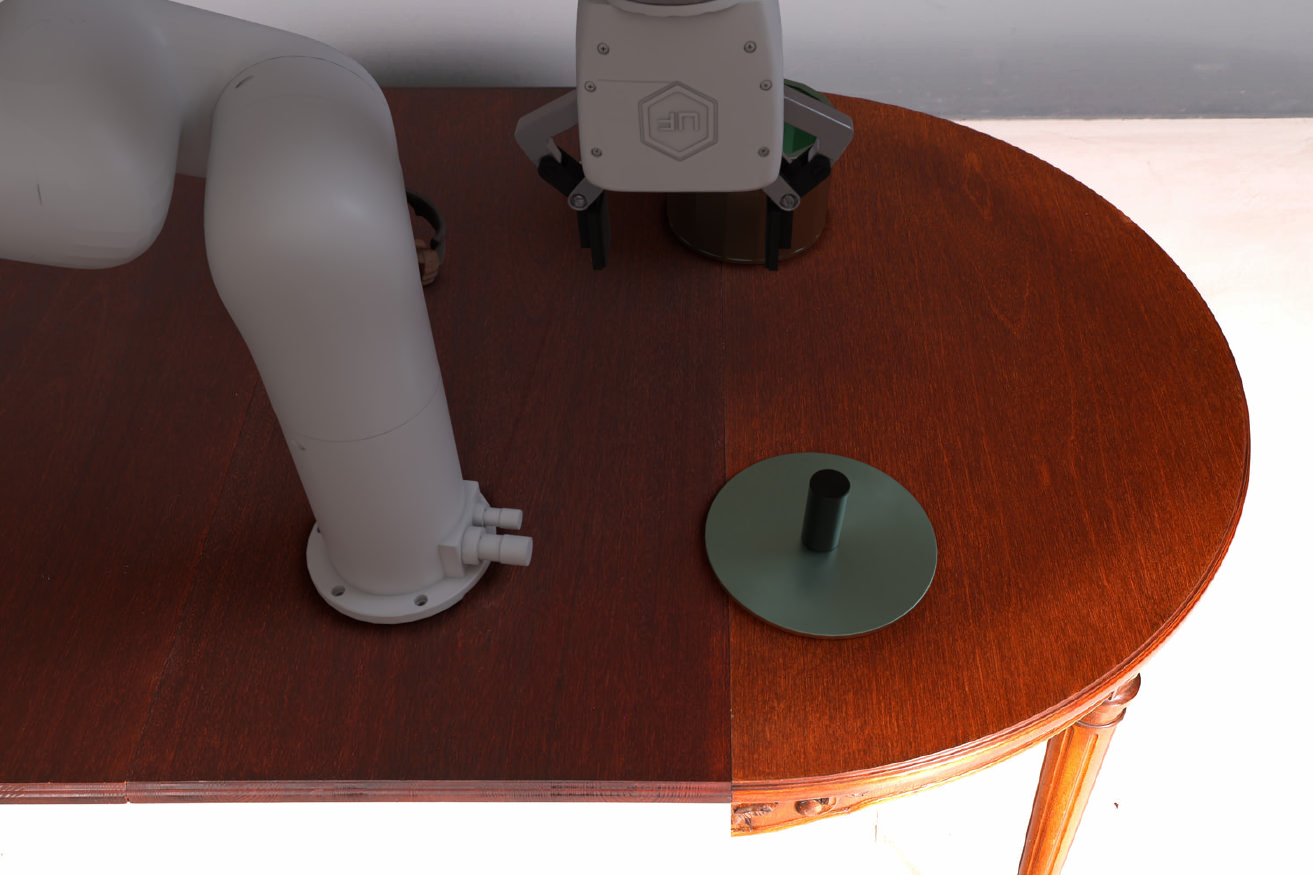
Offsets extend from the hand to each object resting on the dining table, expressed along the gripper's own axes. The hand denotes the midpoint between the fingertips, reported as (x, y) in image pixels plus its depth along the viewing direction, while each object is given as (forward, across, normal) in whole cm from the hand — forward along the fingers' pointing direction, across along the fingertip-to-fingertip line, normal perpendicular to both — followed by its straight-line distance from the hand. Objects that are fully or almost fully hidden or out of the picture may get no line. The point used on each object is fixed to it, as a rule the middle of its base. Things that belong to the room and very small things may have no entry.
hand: (686, 255), depth 59 cm
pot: (+22, +3, +34) cm, 41 cm away
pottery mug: (+20, -28, +23) cm, 42 cm away
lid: (+21, +9, -4) cm, 23 cm away
